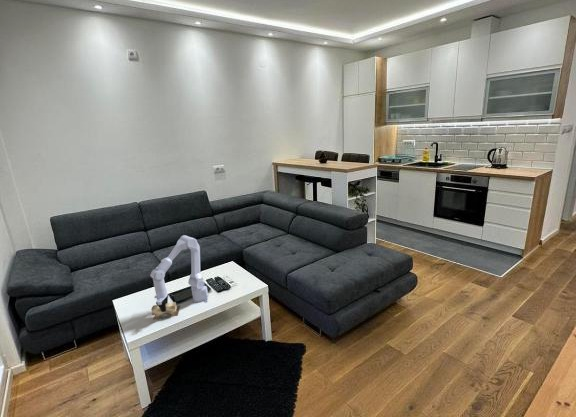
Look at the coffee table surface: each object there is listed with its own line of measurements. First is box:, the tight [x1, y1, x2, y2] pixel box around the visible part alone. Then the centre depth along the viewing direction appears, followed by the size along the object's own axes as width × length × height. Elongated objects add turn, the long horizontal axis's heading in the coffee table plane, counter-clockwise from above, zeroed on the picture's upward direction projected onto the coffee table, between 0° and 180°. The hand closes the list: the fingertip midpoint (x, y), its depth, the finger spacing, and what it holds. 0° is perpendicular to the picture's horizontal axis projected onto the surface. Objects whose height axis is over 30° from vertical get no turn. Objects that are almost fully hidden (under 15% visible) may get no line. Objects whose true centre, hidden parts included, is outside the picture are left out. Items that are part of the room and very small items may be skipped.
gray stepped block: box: [161, 312, 171, 319], centre depth 181 cm, size 5×4×2 cm
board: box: [152, 305, 181, 321], centre depth 185 cm, size 14×11×1 cm
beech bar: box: [150, 301, 178, 316], centre depth 180 cm, size 13×4×4 cm, turn 100°
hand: (164, 309), depth 180 cm, fingers closed on beech bar, 4 cm apart
